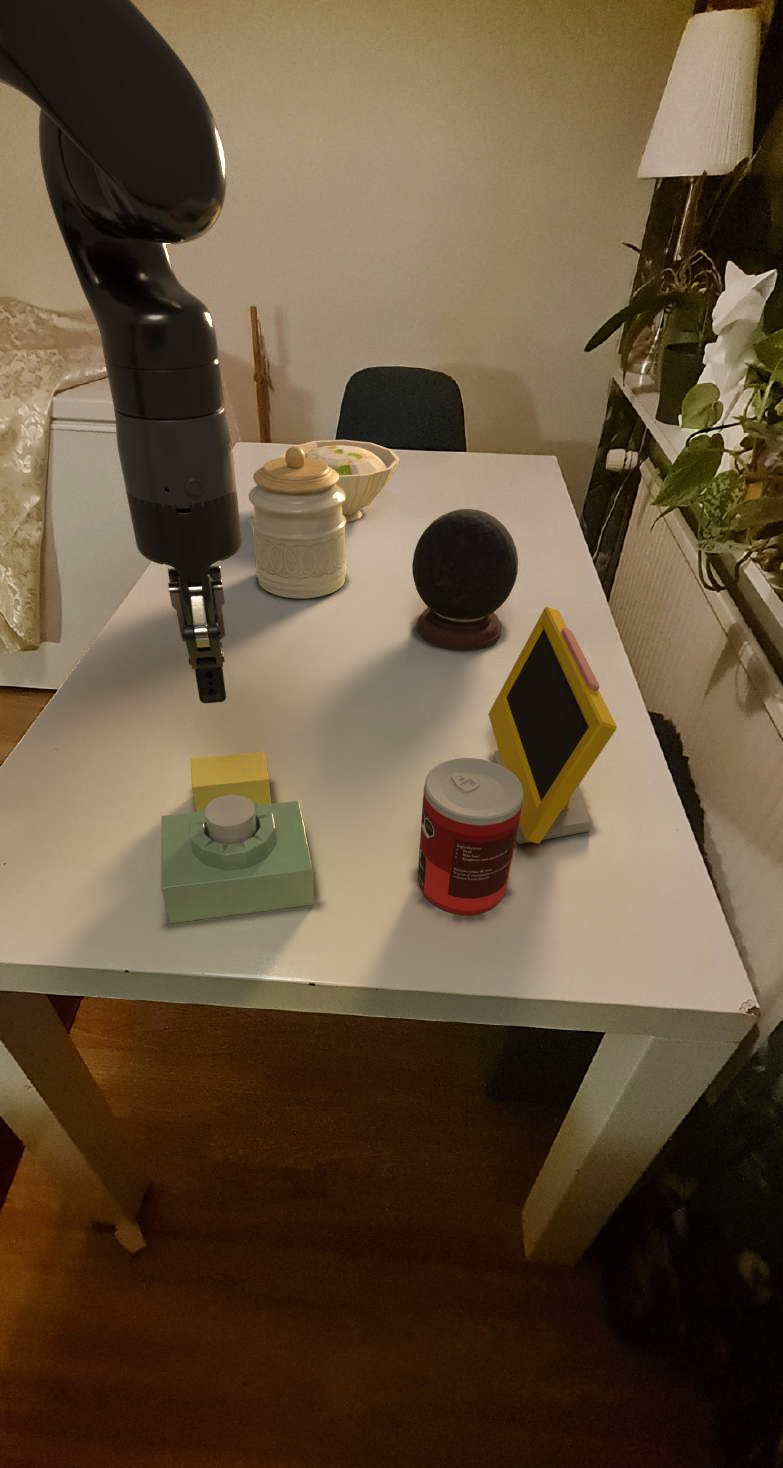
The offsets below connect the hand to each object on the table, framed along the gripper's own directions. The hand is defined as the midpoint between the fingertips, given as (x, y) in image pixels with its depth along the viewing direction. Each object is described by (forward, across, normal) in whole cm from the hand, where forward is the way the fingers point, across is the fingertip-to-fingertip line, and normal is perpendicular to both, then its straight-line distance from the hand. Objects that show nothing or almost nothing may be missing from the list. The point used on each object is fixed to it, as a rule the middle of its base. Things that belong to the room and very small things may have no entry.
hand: (213, 698), depth 65 cm
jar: (+13, -50, +14) cm, 54 cm away
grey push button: (+7, +9, 0) cm, 11 cm away
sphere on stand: (+13, -32, +32) cm, 47 cm away
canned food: (+13, +14, +19) cm, 27 cm away
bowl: (+12, -76, +24) cm, 80 cm away
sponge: (+13, -2, 0) cm, 13 cm away
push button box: (+13, +9, 0) cm, 15 cm away
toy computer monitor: (+13, +3, +30) cm, 33 cm away
